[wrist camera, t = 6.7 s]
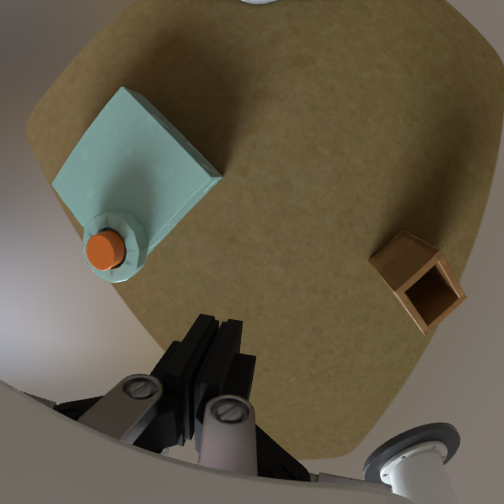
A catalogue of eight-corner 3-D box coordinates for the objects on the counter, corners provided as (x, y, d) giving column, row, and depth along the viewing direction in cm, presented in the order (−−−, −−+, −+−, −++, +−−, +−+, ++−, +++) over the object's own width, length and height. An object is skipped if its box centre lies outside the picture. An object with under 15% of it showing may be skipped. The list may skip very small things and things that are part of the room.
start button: (131, 249, 23) (121, 254, 21) (113, 271, 24) (102, 278, 22) (109, 222, 23) (97, 226, 21) (91, 246, 24) (80, 251, 22)
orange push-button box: (230, 184, 26) (213, 186, 21) (143, 273, 30) (113, 295, 24) (143, 95, 25) (111, 80, 19) (72, 188, 28) (35, 193, 23)
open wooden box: (428, 267, 26) (467, 297, 18) (395, 296, 27) (425, 336, 19) (402, 229, 25) (440, 249, 18) (367, 260, 27) (393, 292, 19)
